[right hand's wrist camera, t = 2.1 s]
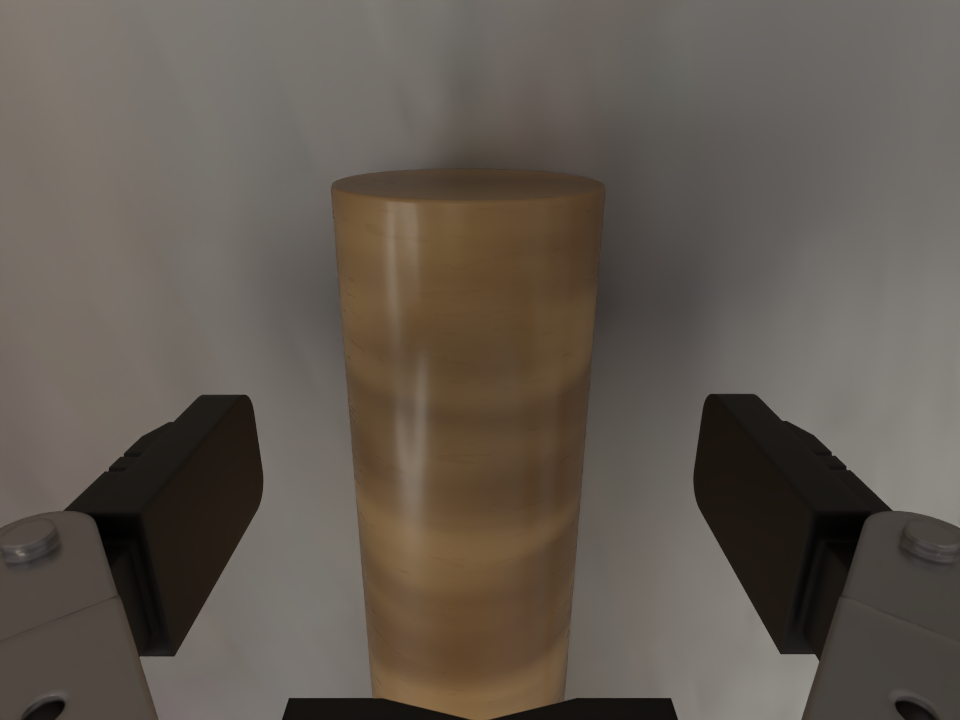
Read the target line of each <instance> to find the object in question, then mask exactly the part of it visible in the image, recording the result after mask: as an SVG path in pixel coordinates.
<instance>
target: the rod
mask: <svg viewBox="0 0 960 720" xmlns="http://www.w3.org/2000/svg"><path fill="white" fill-rule="evenodd" d="M331 195H332V207H333V219H334V232H335V244H336V256H337V268H338V281H339V293H340V305H341V317H342V330H343V342H344V354H345V367H346V379H347V391H348V403H349V416H350V428H351V440H352V452H353V465H354V477H355V489H356V502H357V514H358V526H359V538H360V551H361V563H362V575H363V587H364V600H365V612H366V624H367V636H368V649H369V661H370V673H371V686H372V698H384V699H388V700H392V701H396V702H401V703H405V704H409V705H413V706H417V707H421V708H425V709H429V710H434V711H438V712H442V713H446V714H450V715H454V716H458V717H462V718H467V719H471V720H489V719H493V718H498V717H502V716H506V715H510V714H514V713H518V712H522V711H526V710H531V709H535V708H539V707H543V706H547V705H551V704H555V703H559V702H564V695H565V683H566V671H567V658H568V646H569V633H570V621H571V609H572V596H573V584H574V571H575V559H576V546H577V534H578V522H579V509H580V497H581V484H582V472H583V459H584V447H585V435H586V422H587V410H588V397H589V385H590V372H591V360H592V348H593V335H594V323H595V310H596V298H597V286H598V273H599V261H600V248H601V236H602V223H603V211H604V199H605V186H604V185H603V184H602V183H600V182H598V181H596V180H593V179H590V178H585V177H580V176H574V175H567V174H559V173H550V172H538V171H522V170H500V169H426V170H404V171H389V172H378V173H369V174H362V175H356V176H350V177H346V178H343V179H340V180H337V181H335V182H334V183H333V184H332V186H331Z"/></svg>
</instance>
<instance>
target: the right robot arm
mask: <svg viewBox="0 0 960 720" xmlns="http://www.w3.org/2000/svg"><path fill="white" fill-rule="evenodd" d="M693 481H694V493H695V498H696V502H697V505H698V507H699V509H700V511H701V513H702V514H703V516H704V518H705V520H706V522H707V523H708V525H709V527H710V529H711V531H712V532H713V534H714V536H715V538H716V539H717V541H718V543H719V545H720V547H721V548H722V550H723V552H724V554H725V556H726V557H727V559H728V561H729V563H730V565H731V566H732V568H733V570H734V572H735V573H736V575H737V577H738V579H739V581H740V582H741V584H742V586H743V588H744V590H745V591H746V593H747V595H748V597H749V599H750V600H751V602H752V604H753V606H754V607H755V609H756V611H757V613H758V615H759V616H760V618H761V620H762V622H763V624H764V625H765V627H766V629H767V631H768V633H769V634H770V636H771V638H772V640H773V641H774V643H775V645H776V647H777V649H778V650H779V652H780V654H815V655H816V656H817V658H818V660H819V665H818V668H817V671H816V674H815V678H814V681H813V684H812V687H811V691H810V694H809V697H808V700H807V703H806V707H805V710H804V713H803V716H802V720H960V528H959V527H957V526H955V525H952V524H950V523H947V522H945V521H942V520H939V519H936V518H933V517H930V516H926V515H922V514H917V513H912V512H904V511H892V510H891V509H890V508H889V507H888V506H887V505H886V504H885V503H884V502H883V501H882V500H881V499H880V498H879V497H878V496H877V495H876V494H875V493H874V492H873V491H872V490H870V489H869V488H868V487H867V486H866V485H865V484H864V483H863V482H862V481H861V480H860V479H859V478H858V477H857V476H856V475H855V474H854V473H853V472H852V471H851V470H847V469H846V466H845V465H844V464H843V463H842V462H841V461H840V460H839V459H838V458H837V457H836V456H832V452H831V451H830V450H829V449H828V448H827V447H825V446H824V445H823V444H822V443H821V442H820V441H819V440H818V439H817V438H816V437H815V436H814V435H812V434H810V433H808V432H806V431H805V430H803V429H801V428H799V427H797V426H795V425H793V424H791V423H790V422H788V421H782V420H781V419H780V418H779V417H778V416H777V415H776V414H775V413H774V412H773V411H772V410H771V409H770V408H769V407H768V406H767V405H766V404H765V403H764V402H763V401H762V400H761V399H760V398H759V397H758V396H757V395H755V394H710V395H709V396H708V397H707V398H706V400H705V403H704V406H703V412H702V419H701V426H700V433H699V440H698V446H697V453H696V460H695V467H694V478H693ZM262 492H263V470H262V463H261V457H260V450H259V443H258V436H257V429H256V422H255V416H254V409H253V405H252V402H251V400H250V398H249V397H248V396H247V395H201V396H199V397H198V398H197V399H196V400H195V401H194V402H193V403H192V404H191V405H190V406H189V407H188V408H187V409H186V410H185V411H184V412H183V413H182V414H181V415H180V416H179V417H178V418H177V419H176V420H175V421H174V422H168V423H167V424H165V425H163V426H161V427H159V428H157V429H155V430H153V431H151V432H150V433H148V434H146V435H144V436H142V437H141V438H140V439H139V440H138V441H137V442H136V443H135V444H133V445H132V446H131V447H130V448H129V449H128V450H127V451H126V452H125V453H124V457H120V458H119V459H118V460H117V461H116V462H114V463H113V464H112V465H111V466H110V467H109V471H108V472H104V473H103V474H102V475H101V476H100V477H99V478H98V479H97V480H95V481H94V482H93V483H92V484H91V485H90V486H89V487H88V488H87V489H86V490H85V491H84V492H83V493H82V494H81V495H80V496H79V497H78V498H76V499H75V500H74V501H73V502H72V503H71V504H70V505H69V506H68V507H67V508H66V509H65V510H64V511H56V512H48V513H43V514H38V515H34V516H30V517H27V518H24V519H21V520H18V521H15V522H13V523H10V524H8V525H5V526H3V527H1V528H0V720H158V716H157V713H156V710H155V707H154V703H153V700H152V697H151V694H150V691H149V687H148V684H147V681H146V678H145V674H144V671H143V668H142V665H141V662H140V658H139V657H140V656H175V655H176V653H177V651H178V649H179V647H180V646H181V644H182V642H183V640H184V639H185V637H186V635H187V633H188V632H189V630H190V628H191V626H192V625H193V623H194V621H195V619H196V617H197V616H198V614H199V612H200V610H201V609H202V607H203V605H204V603H205V602H206V600H207V598H208V596H209V594H210V593H211V591H212V589H213V587H214V586H215V584H216V582H217V580H218V579H219V577H220V575H221V573H222V571H223V570H224V568H225V566H226V564H227V563H228V561H229V559H230V557H231V556H232V554H233V552H234V550H235V549H236V547H237V545H238V543H239V541H240V540H241V538H242V536H243V534H244V533H245V531H246V529H247V527H248V526H249V524H250V522H251V520H252V518H253V517H254V515H255V513H256V511H257V509H258V507H259V505H260V502H261V498H262ZM282 720H471V719H467V718H462V717H458V716H454V715H450V714H446V713H442V712H438V711H434V710H429V709H425V708H421V707H417V706H413V705H409V704H405V703H401V702H396V701H392V700H388V699H384V698H289V700H288V703H287V706H286V709H285V712H284V715H283V718H282ZM489 720H678V718H677V715H676V712H675V709H674V706H673V703H672V700H671V698H576V699H572V700H568V701H564V702H559V703H555V704H551V705H547V706H543V707H539V708H535V709H531V710H526V711H522V712H518V713H514V714H510V715H506V716H502V717H498V718H493V719H489Z"/></svg>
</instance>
